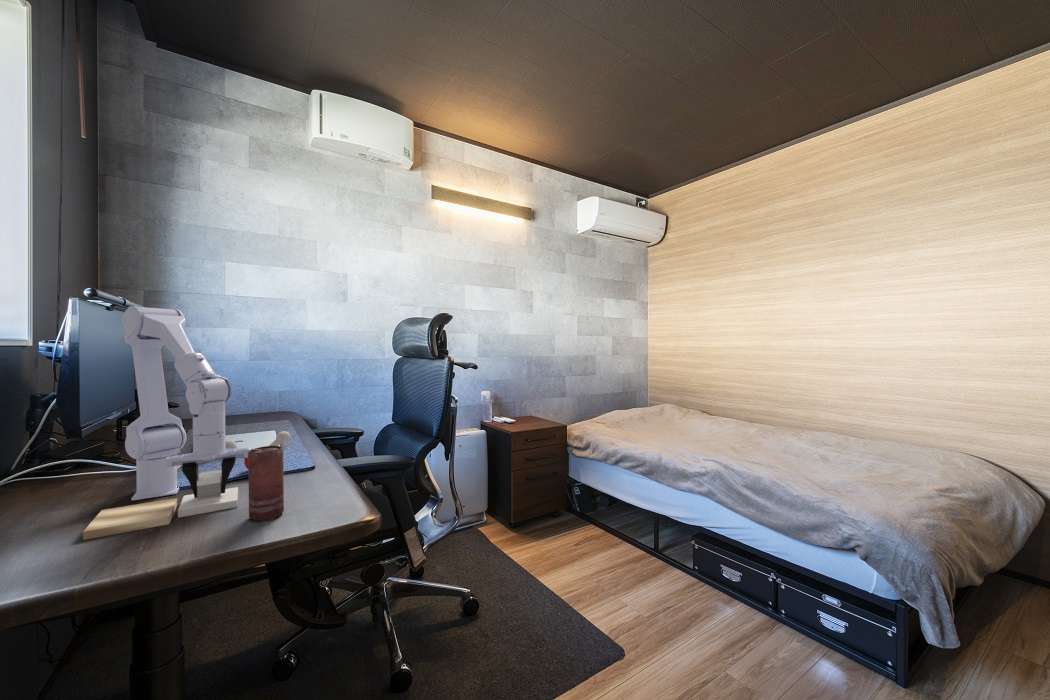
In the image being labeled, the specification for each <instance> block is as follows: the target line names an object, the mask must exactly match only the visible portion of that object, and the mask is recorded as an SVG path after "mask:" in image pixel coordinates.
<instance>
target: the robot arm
mask: <svg viewBox="0 0 1050 700" xmlns="http://www.w3.org/2000/svg"><path fill="white" fill-rule="evenodd" d="M121 327H122V333H123V339H124V343H125V344H126V345H130V346H131V349H132V358H133V365H134V367H133V368H134V374H135V383H136V390H137V398H138V407H139V413H140V414H139V415H140V416H139V417H137V418H136V419H135V420H134V421H132V422H130V424H128V426H126V428H125V429H126V431H125V433H126V437H125V440H124V447H125V451H126V453H127V455H128V456H129V457H130V458H132V459H133V460H136V464H135V466H136V467H135V468H136V491H135V492H134V495H132V497H131V498H130V499H131V501H140V500H145V499H152V498H158V497H164V496H172V495H176V494H178V492H179V490H180V488H179V487H178V488H177V482H178V469H177V468H178V466H181V472H182V473H183V474H184V476H185V477H186V479H187V481H188V483H189V485H190V487H191V489H192V492H193V493H192V494H194V498H197V480H198V477H199V464H202V463H210V462H218V461H221V464H220V466H221V470H222V484H221V494H222V493H225V489H227V488H226V486H227V484H228V483H227V482H228V481H229V480H228V479H229V477H230V474H231V472H232V470H233V468H234V466H235V464H236V459H244V458H248V452H249V450H250V447H238V448H234V449H226V447H225V441H226V403H228V401H229V400H230V399H231V396H232V387H231V383H230V382H229V379H228V378H226V377H224V376H221V374H216V372H215V370H214V369H213V368H212V366H211V365H210V363H209V362H208V359H206V357H205V355H204V354H202V353H199V352H195V350H194V348H193V346H192V344H191V342H190V340H189V338H188V336H187V334H186V331H185V328H186V318H185V315H184V314H183V313H182V311H181V310H180V309H179V308H169V309H168V308H160V307H159V308H157V307H145V306H144V307H143V306H141V307H140V306H136V305H130V306H129V307H128V308H126V309H125V311H124V313H123V316H122V317H121ZM164 346H166V349H168V350H169V352H170V353H171V354H172V355H173V357H174V358H175V359H176V360H175V362H174V364H173V367H174V369H175V370H176V372H177V374H178V375H179V376H180V378H181V380H182V381H183V383H184V384H185V386H186V391H185V398H186V401H187V404H188V408H189V413H190V414H191V415H192V443H193V444H192V452H189V453H185V454H179V453H181V449H183V448H184V447H185V445H186V442H187V432H186V429H184V427H183V422H182V419H181V418H180V417H178V416H176V415H174V414H172V413H170V411H169V407H168V397H167V391H166V390H167V389H166V382H165V374H164V367H163V359H162V351H161V350H162V348H163V347H164ZM159 426H161V427H159ZM151 427H155V428H151ZM147 428H149V429H147Z"/></svg>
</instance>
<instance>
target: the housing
mask: <svg viewBox="0 0 1050 700" xmlns="http://www.w3.org/2000/svg"><path fill="white" fill-rule="evenodd" d="M221 484H222V469H218V470H212V471H204V472H199V473H198V480H197V505H200V504H205V503H211V502H217V501H221V496H222V494H221Z"/></svg>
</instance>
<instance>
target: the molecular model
mask: <svg viewBox="0 0 1050 700" xmlns="http://www.w3.org/2000/svg"><path fill="white" fill-rule="evenodd" d="M290 440H291V435H290V433H289V432H288V431H285V430H283V431H280V432H278V433H277V434H276V436H275V440H274V441H272V442H271V443H270V444H269V445H268V446H281V445H285V444H287V443H288V442H290ZM225 447H226V449H234V448H239V447H238V445H237V442H236V441H235V440H233V439H225ZM243 459H244V462H243V463H244V466H245V468H246V469H247V470H248V458H243Z"/></svg>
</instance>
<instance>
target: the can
mask: <svg viewBox="0 0 1050 700" xmlns="http://www.w3.org/2000/svg"><path fill="white" fill-rule="evenodd" d="M247 471H248V477H247V478H248V517H249V519H250V520H251V521H253V522H256V523H257V522H259V523H260V522H267V521H268V522H269V521H271V520H275V519H277V518H279V517H280V516H282V514H283V513H284V511H285V498H284V495H285V493H284V492H285V490H284V487H285V486H284V481H285V479H284V450H283V448H282V447H281V445H279V446H269V445H266V446H265V445H264V446H260V447H259V446H258V447H254V448H251V449H249V452H248V469H247Z"/></svg>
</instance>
